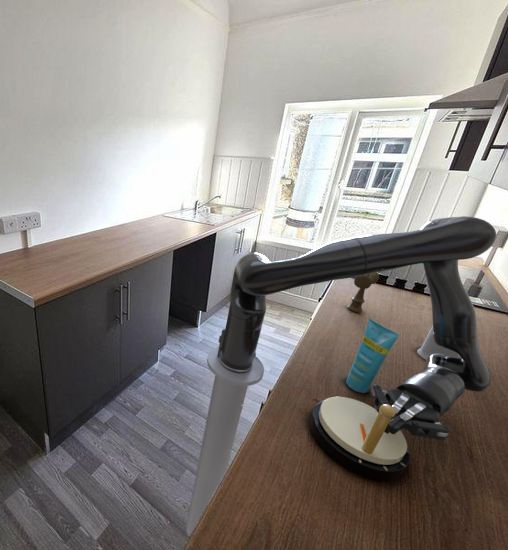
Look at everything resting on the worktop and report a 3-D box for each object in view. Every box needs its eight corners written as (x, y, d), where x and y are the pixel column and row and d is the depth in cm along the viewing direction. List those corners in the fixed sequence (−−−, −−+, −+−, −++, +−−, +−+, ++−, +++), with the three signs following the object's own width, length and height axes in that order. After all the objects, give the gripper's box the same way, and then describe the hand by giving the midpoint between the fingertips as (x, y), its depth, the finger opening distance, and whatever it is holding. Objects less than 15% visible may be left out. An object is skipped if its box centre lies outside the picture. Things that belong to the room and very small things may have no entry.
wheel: (317, 392, 71) (333, 349, 66) (393, 418, 65) (417, 373, 60) (320, 442, 59) (340, 394, 54) (414, 480, 53) (447, 429, 48)
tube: (337, 378, 81) (362, 318, 73) (350, 375, 83) (375, 316, 75) (364, 398, 75) (393, 335, 67) (377, 394, 76) (407, 332, 69)
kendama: (366, 309, 120) (385, 263, 112) (358, 316, 114) (378, 269, 106) (349, 303, 124) (366, 259, 116) (341, 310, 118) (358, 263, 110)
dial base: (292, 424, 66) (296, 414, 65) (337, 399, 74) (341, 390, 73) (375, 498, 53) (382, 487, 52) (419, 458, 60) (426, 448, 59)
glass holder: (410, 351, 95) (431, 311, 89) (437, 344, 99) (458, 305, 93) (443, 369, 87) (468, 326, 81) (471, 360, 92) (496, 319, 86)
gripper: (395, 361, 65) (353, 387, 57) (478, 404, 55) (440, 443, 47) (383, 387, 68) (341, 415, 60) (459, 432, 58) (420, 473, 50)
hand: (384, 427), depth 54 cm, fingers closed
